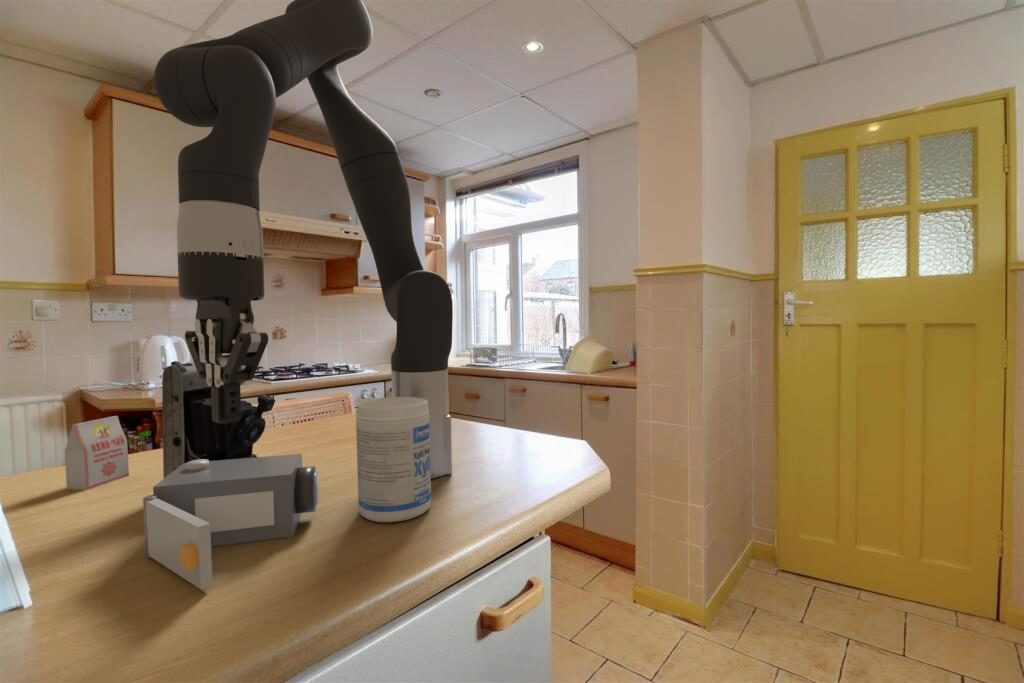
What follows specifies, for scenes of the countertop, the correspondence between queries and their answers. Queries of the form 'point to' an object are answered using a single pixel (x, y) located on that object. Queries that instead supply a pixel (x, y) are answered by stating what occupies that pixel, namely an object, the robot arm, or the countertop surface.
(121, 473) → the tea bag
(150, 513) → the side door
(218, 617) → the countertop surface
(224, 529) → the camera housing
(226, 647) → the countertop surface
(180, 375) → the vintage camera
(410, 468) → the supplement tub
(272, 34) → the robot arm
